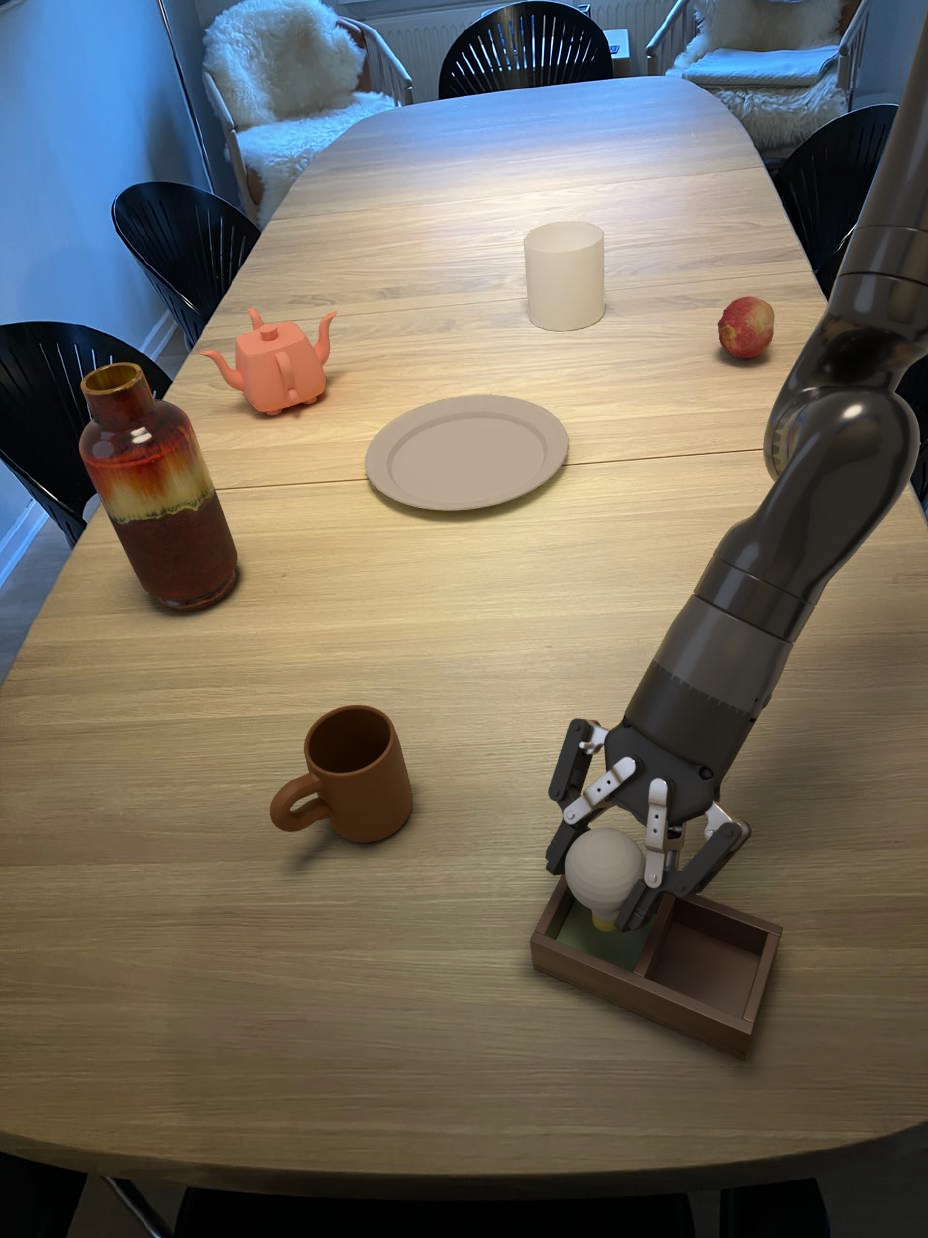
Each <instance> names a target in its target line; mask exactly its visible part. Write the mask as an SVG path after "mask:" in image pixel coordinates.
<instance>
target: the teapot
mask: <svg viewBox="0 0 928 1238" xmlns="http://www.w3.org/2000/svg"><path fill="white" fill-rule="evenodd" d="M247 312H248V315H249V317H250V321H251V324H252V329H253V330H251V331H248V332H245V333H243V334H241V335H239V336H238V337H236V340H235V352H234V353H235V354H234V357H235V359H234V361H235V369H233V368H232V367H230V366H229V365H228V363H227V361H226V359H225V358H224V356H223V355H222V353H220V352H219V351H217V350H214V349H213V350H212V349H207V350H201V351H199V352H198V355H201V356H204V357H206V358H209V359H211V360H212V362H213V363H214V364H215V365H216V367H217V368H218V370H219V372H220V375H221V377H222V378H223V380H224V382H225V383H226V384H227V385H228V386H229V387H231V389H234V390H236V391H240V392H242V393H243V396H244V397H245V398H246V399H247V401H248V402H249V403H250V404H251V406H252V407H254V409H255V410H256V411H258V412H262V413H264V412H265V413H266V414H267V415H268V416H276V415H279V414H281V413H282V412H283V409H285V408H289V407H292V406H295V405H298V404H301V403H302V404H304V405H310V404H314V403H315V402H317V401H318V398H317V396H320V395H321V394H323V392H324V391H325V389H326V384H327V383H326V382H327V378H326V373H325V370H324V367H323V366H325V364H326V363H327V362H328V359H329V357H330V354H331V342H330V325H331V323H332V321H333V319H335V317H336V315H337V314H338V311H335V310H334V311H332V312H330V313H328V314H326V315H324V316H323V317H322V318H321V320H320V322H319V325H318V338H317V342H316V343H315V345H313V344H312V343H311V341H310V340H309V338H308V336H307V335H306V334H305V332H304V331H303V330H302V328H301V327H300V326H299V325H298V324H297V323H296V322H294V321H292V320H291V321H283V322H282V321H281V322H278V323H264V321H263V318H262V317H261V315H260V313H259V311H258V310H257V309H256V308H254V307H249V308H248V311H247Z"/></svg>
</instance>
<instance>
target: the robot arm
mask: <svg viewBox="0 0 928 1238" xmlns="http://www.w3.org/2000/svg"><path fill="white" fill-rule="evenodd" d="M875 171H876V172H875V174H874V176H873V179H872V182H871V184H870V187H869V190H868V193H867V195H866V197H865V200H864V202H863V206H862V209H861V211H860V214H859V216H858V218H857V221H856V224H855V226H854V229H853V232H852V234H851V236H850V239H849V242H848V245H847V248H846V250H845V253H844V256H843V258H842V261H841V264H840V266H839V269H838V272H837V274H836V277H835V278H836V279H835V280H834V282H833V286H832V289H831V292H830V296H829V299H828V301H827V306H826V307H825V308H824V309H825V310H824V312H823V314H822V315H821V317H820V319H819V320H818V322H817V324H816V326H815V328H814V329H813V331H812V332H811V334H810V335H809V337H808V339H807V341H806V343H805V344H804V346H803V348H802V350H801V351H800V352H799V353H800V354H799V355H798V357H797V359H796V360H795V362H794V364H793V365H792V368H791V370H790V372H789V373H788V374H787V377H786V379H785V381H784V382H783V384H782V386H781V389H780V390H779V392H778V394H777V396H776V398H775V401H774V403H773V405H772V408H771V411H770V413H769V415H768V419H767V423H766V426H765V431H764V435H763V444H762V447H763V448H762V449H763V450H762V455H763V460H764V466H765V468H766V470H767V473H768V475H769V477H770V478H771V479H772V481H773V485H772V486H771V488H770V489H769V491H768V492H767V494H766V495H765V497H764V499H763V500H762V502H761V504H760V505H759V506H758V508H757V509H756V510H755V511H754V513H753V514H752V515H750V516H748V517H746V518H744V519H741V520H739V521H737V522H735V523H734V524H732V525H731V526H730V527H729V529H728V530H727V531H726V532H725V534H724V535H723V537H722V538H721V540H720V541H719V542H718V544H717V546H716V547H715V550H714V552H713V553H712V556H711V557H710V559H709V561H708V563H707V565H706V567H705V568H704V571H703V572H702V574H701V576H700V578H699V580H698V581H697V583H696V585H695V587H694V589H693V592H692V593H691V594H690V595H689V597H688V599H687V601H686V603H684V605H683V607H682V608H681V609H680V611H679V612H678V613H677V615H676V616H675V618H674V619H673V621H672V622H671V624H670V626H669V628H668V629H667V631H666V633H665V635H664V637H663V639H662V641H661V642H660V644H659V646H658V648H657V650H656V652H655V654H654V655H653V657H652V659H651V661H650V663H649V665H648V667H647V668H646V671H645V672H644V674H643V676H642V678H641V680H640V682H639V683H638V686H637V688H636V689H635V691H634V693H633V695H632V696H631V699H630V701H628V702H629V703H628V704H627V706H626V708H625V710H624V714H623V717H622V719H621V720H620V721H619V723H618V724H617V725H616V726H614V727H612V728H611V729H609V728H606V727H604V726H601V723H600V722H599V721H598V720H595V719H586V718H573V719H571V721H570V722H569V724H568V728H567V731H566V734H565V736H564V741H563V743H562V747H561V748H560V749H561V750H560V752H559V756H558V758H557V762H556V765H555V768H554V772H553V775H552V778H551V781H550V783H549V787H548V790H547V794H548V797H549V799H550V800H551V801H553V802H556V804H557V805H558V807H559V808H560V810H561V812H562V820H561V822H560V824H559V826H558V828H557V830H556V831H555V833H554V836H553V838H551V840H550V843H549V845H548V846H547V848H546V850H545V857H544V858H545V860H547V863H546V864H545V870H546V871H547V872H549V874H551V875H552V876H553V877H556V876H562V875H563V874H565V860H566V856H567V853H568V851H569V849H570V848H571V846H572V844H573V843H574V841H575V840H576V839H577V838H578V837H580V836H581V835H582V834H584V833H585V832H587V831H589V830H592V828H591V827H589V824H590V823H591V824H592V823H593V822H594V821H595V820H597V819H598V818H599V817H601V815H603V814H605V813H606V812H607V811H608V810H609V809H611V808H613V807H618V808H619V809H622V810H625V811H628V812H629V813H630V814H631V815H632V816H633V817H634V818H635V820H636V821H637V822H638V823H639V824H641V825H642V826H644V827H645V828H646V829H645V838H644V847H645V849H646V856H645V859H646V865H645V873H644V878H643V879H638V880H637V882H636V884H635V886H634V887H633V889H632V891H631V893H630V895H629V896H628V898H627V900H626V902H625V904H624V905H623V907H622V909H621V911H620V913H619V914H618V916H617V918H616V920H615V922H614V927H616V928H617V929H618V930H619V931H620V932H622V933H625V932H628V931H632V930H636V929H640V928H643V927H644V926H645V925H647V924H648V923H649V921H650V920H651V918H652V916H653V914H654V913H655V910H656V909H657V907H658V905H659V904H660V902H661V900H662V898H663V896H664V895H665V893H666V892H667V891H669V892H672V893H674V894H675V895H676V896H678V897H686V896H688V895H691V894H697V895H699V894H701V893H702V892H703V891H704V890H706V888H707V886H709V884H710V883H711V882H712V881H713V880H714V879H715V878H716V876H717V875H719V873H721V871H722V870H723V868H725V866H726V865H727V864H728V863H729V862H730V861H731V859H732V858H733V857H734V856H735V855H736V854H737V853H738V852H739V851H740V849H742V847H743V846H744V845H745V844H746V843H747V842H748V840H749V839H750V838H751V837H752V835H753V827H752V825H751V824H750V823H749V822H748V821H746V820H739V819H737V818H736V817H735V816H734V815H733V814H732V813H731V812H730V810H728V809H727V808H726V807H725V806H724V804H722V803H721V802H720V801H721V787H722V783H723V780H724V778H725V777H726V775H727V774H728V772H729V771H730V769H731V767H732V765H733V763H734V762H735V760H736V758H737V756H738V754H739V753H740V751H741V749H742V748H743V745H744V744H745V742H746V740H747V738H748V736H749V735H750V733H751V731H752V729H753V728H754V726H755V725H756V723H757V721H758V719H759V717H760V715H761V713H762V711H763V710H765V709H766V707H768V705H769V703H770V701H771V700H772V697H773V692H774V690H775V688H776V687H777V685H778V683H779V682H780V679H781V677H782V675H783V672H784V670H785V667H786V665H787V661H788V659H789V657H790V655H791V652H792V651H793V648H794V646H795V645H794V644H796V643H797V641H798V640H799V637H800V635H801V634H802V632H803V630H804V628H805V627H806V625H807V623H808V621H809V620H810V618H811V616H812V615H813V612H814V610H815V608H816V606H817V605H818V603H819V601H820V599H821V597H822V595H823V594H824V593H823V592H824V591H825V589H826V587H827V585H828V583H829V582H830V581H831V580H832V579H833V577H835V576H836V574H837V573H838V572H839V571H840V570H841V569H842V568H843V567H844V566H845V565H846V564H847V563H848V562H849V561H850V560H851V559H852V558H853V556H854V555H855V554H856V553H857V552H858V550H859V549H860V548H861V547H862V546H863V544H864V543H866V542H867V540H868V539H869V538H870V536H871V535H872V534H873V533H874V531H875V530H876V529H877V528H878V526H879V525H880V524H881V523H882V522H883V521H884V519H885V518H886V517H887V516H888V515H889V513H890V512H891V511H892V509H893V508H894V506H895V505H896V504H897V502H898V501H899V499H900V498H901V496H902V494H903V493H904V491H905V489H906V487H907V486H908V483H909V481H910V480H911V477H912V475H913V473H914V470H915V467H916V464H917V460H918V456H919V453H920V445H921V434H920V433H921V431H920V426H919V425H920V424H919V422H918V419H917V416H916V414H915V412H914V410H913V409H912V407H911V406H910V405H909V403H908V402H907V401H906V400H905V399H904V398H903V397H902V396H901V395H899V394H897V393H896V392H895V391H896V389H897V388H898V386H899V384H900V382H901V380H902V378H903V376H904V375H905V373H906V372H907V371H908V369H909V368H910V367H911V366H912V365H913V364H915V363H916V362H917V361H919V360H921V359H922V358H924V357H926V356H927V355H928V5H927V6H926V10H925V14H924V18H923V21H922V25H921V29H920V33H919V36H918V40H917V43H916V47H915V50H914V54H913V58H912V61H911V64H910V68H909V71H908V74H907V78H906V81H905V85H904V88H903V91H902V94H901V97H900V99H899V103H898V107H897V109H896V112H895V116H894V118H893V122H892V125H891V128H890V131H889V133H888V137H887V139H886V142H885V145H884V148H883V151H882V154H881V156H880V160H879V163H878V165H877V168H876V170H875ZM602 748H603V751H604V763H605V773H604V774H603V775H602V776H600V777H599V778H598V779H596V780H595V781H594V782H593V783H591V785H589V786H588V787H586V788H585V790H583V788H584V785H585V782H586V779H587V776H588V773H589V769H590V766H591V763H592V760H593V757H594V755H598V754H599V753H600V751H601V750H602ZM582 791H583V792H582ZM704 815H706V817H707V824H706V827H705V829H704V831H703V832H704V838H705V839H706V841H705V843H704V844H703V845H702V847H700V848H699V850H698V851H697V852H696V853H695V855H693V857H692V858H691V859H690V860H689V861H688V863H687V864H686V865H685V866H684V867H683V868H682V870H680V869H679V866H680V857H681V852H682V850H683V849H684V846H685V842H686V832H687V824H688V822H689V821H691V820H695V819H697V818H699V817H702V816H704Z"/></svg>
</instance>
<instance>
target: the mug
mask: <svg viewBox="0 0 928 1238" xmlns="http://www.w3.org/2000/svg"><path fill="white" fill-rule="evenodd" d="M303 754H304V758H305V762H306V766H307V769H308V770H307V771H308V773H306V774H303V775H301V776H299V777H296V778H293V779H291V780H290V781H288V782H286V783H285V784H284V785H283V786H282V787H280V789H279V790H278V791H277V792H276V794H275V795H274V796H273V798H272V800H271V803H270V805H269V806H270V807H269V816H270V820H271V822H272V824H273V825H274V826H275V827H276V828H277V829H279V830H281V831H283V832H286V833H294V832H300V831H303V830H305V829H307V828H309V827H310V826H312V825H313V824H315V823H316V822H318V821H322V820H324V819H325V820H327V822H328V824H329V825H330V827H331V828H332V830H333V831H334V832H335V833H336V834H337V835H339V836H340V837H342V838H343V839H346V840H348V841H352V842H355V843H373V842H377V841H380V840H383V839H386V838H388V837H390V836H391V835H393V834H394V833H396V832H397V831H398V830H399V829H400V828H401V827H402V826H403V825H404V824H405V822H406V821H407V820H408V818H409V815H410V813H411V810H412V807H413V792H412V786H411V782H410V778H409V774H408V769H407V765H406V761H405V758H404V754H403V750H402V745H401V741H400V738H399V735H398V733H397V731H396V729H395V725H394V723H393V721H392V720H391V719H390V717H389V716H388V715H387V714H386V713H385V712H383V711H382V710H380V709H378V708H376V707H373V706H370V705H365V704H349V705H348V704H347V705H344V706H339V707H337V708H335V709H334V708H333V709H332V710H330V711H328V712H327V713H324V714H323V715H321V716H320V717H319V718H318V719H317V720H316V721H314V723H313V724H312V725H311V727H310V728H309V730H308V731H307V733H306V736H305V739H304V742H303ZM314 794H317V797H315V798H312V799H310V800H308V801H306V802H305V803H303V804H301V806H299V807H298V808H296V809H294V810H291V809H292V808H293V806H294V805H295V804H296V803H297V802H298V801H300V800H302V799H304V798H306V797H309V796H311V795H314Z"/></svg>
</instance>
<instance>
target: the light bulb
mask: <svg viewBox="0 0 928 1238" xmlns="http://www.w3.org/2000/svg"><path fill="white" fill-rule="evenodd" d="M645 865H646V855H645V853H644V851H643V850H642V849H641V847H640V845H639V844H638V842H636V840H634V838H633V837H631V836H630V835H628V834H627V833H625V832H624V831H622V830H620V829H617V828H613V827H604V826H603V827H595V828H591V830H589V831H587V832H585V833H584V834H582V835H581V836H580V837H578V838H577V839H576V840H575V841H574V843H573V844H572V846H571V848H570V849H569V851H568V853H567V856H566V860H565V875H566V881H567V883H568V886H569V888H570V890H571V892H572V893H573V895H574V896H575V898H576V899H577V900H578V901H579V902H580V903H582V904H583V905H584V906H586V907H588V908H590V909H591V910H592V922H593V924H594V925H595V927H596V928H598V929H599V930H601V931H604V932H611V931H614V930H616V929H617V928H616V927H614V922H615V920H616V918H617V916H618V914H619V913H620V911H621V909H622V907H623V905H624V904H625V902H626V900H627V898H628V896H629V895H630V893H631V891H632V889H633V887H634V886H635V884H636V882H637V880H638V879H643V878H644V873H645Z"/></svg>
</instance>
